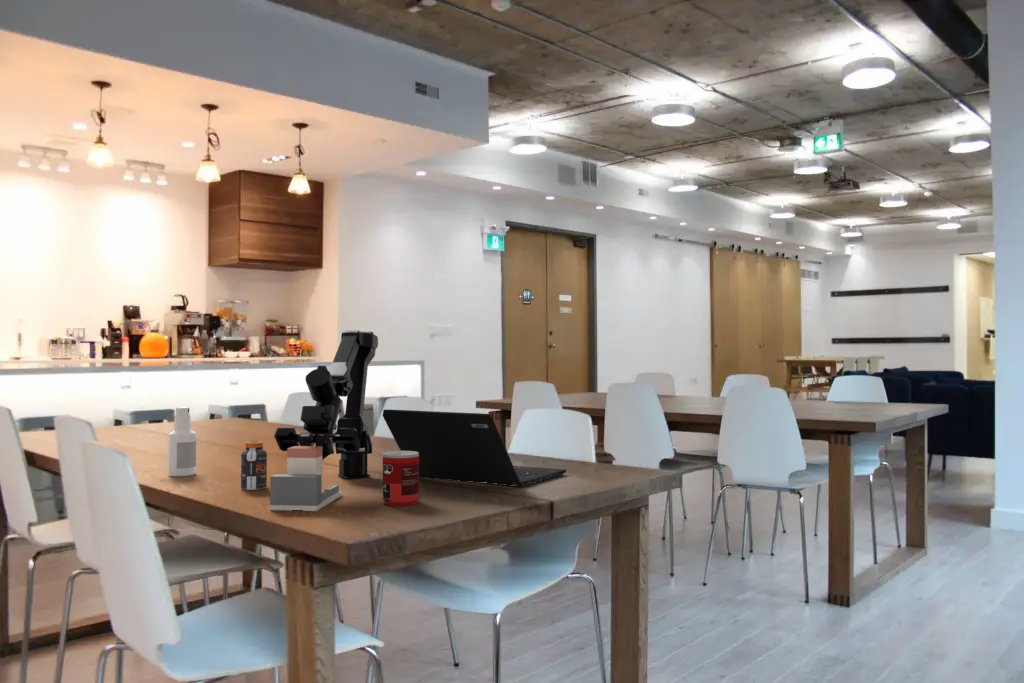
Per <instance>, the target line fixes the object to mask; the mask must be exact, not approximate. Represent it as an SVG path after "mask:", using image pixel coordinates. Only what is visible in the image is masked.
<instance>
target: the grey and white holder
mask: <svg viewBox="0 0 1024 683" xmlns="http://www.w3.org/2000/svg"><path fill="white" fill-rule="evenodd" d="M269 482H270V483H269V484H270V486H269V490H270V491H269V492H270V493H269V494H270V495H269V497H270V498H269V499H270V500H269V503H270V504H269V511H292V510H303V511H302V512H304V511H305V512H306V511H307V512H309V511H310V512H317V511H318V510H320V509H322V508H324V507H325V506H327V505H329V504H330V503H332V502H334V501H336V500H337V499H338V498H340V497H342V495H343V493H342V492H343V491H342V490H341V491H340V490H339V489H340V487H339V486H340V485H339V484H335V485H333V486H331V487H329V488H327V489H324V490H322V492H321V475H297V474H287V473H286V474H285V473H284V474H282V473H281V474H279V473H276V474H273V475H270V480H269Z"/></svg>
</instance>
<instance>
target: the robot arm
mask: <svg viewBox="0 0 1024 683" xmlns="http://www.w3.org/2000/svg"><path fill="white" fill-rule="evenodd" d="M378 346H379V339H378V336H377V335H376V334H374V332H373V331H360V330H345V331H342V333H341V337H340V343H339V346H338V347H337V351H336V353H335V355H334V358H333V360H332V363H331V364H330V365H329V366H327V365H317V367H316V368H315V369H313V370H311V371H309V372H308V373H307V374H306V376H305V379H304V380H305V383H306V386H307V389H308V392H309V395H310V397H311V399H312V401H314V402H315V405H303V406H302V408H301V414H300V421H301V422H303V430H304V431H302V430H300V433H299V434H298V433H297V431H296V429H295V427H286V426H285V427H283V426H282V427H281V426H280V427H277V428H276V430H275V431H274V435H273V437H274V439H275V442H276V443H277V447H278V449H279V450H280V451H282V452H287V448H290V447H293V446H322V461H323V460H325V459H326V458H327V457H329V456H330V455H333V454H336V455H339V454H340V459H338V462H339V463H338V464H339V465H338V468H339V469H338V474H337V476H338V477H341V478H346V479H349V480H350V479H358V478H359V479H360V478H367V477H371V474H370V473H368V455H369V454H373V450H374V448H373V441H372V439H371V438H372V437H371V436H370V432H369V426H368V424H367V422H366V420H365V418H364V409H365V408H364V407H365V400H366V399H365V398H366V389H367V388H366V387H367V381H368V380H367V378H368V370H369V368H368V366H369V364H370V363H371V362H372V360H373V359H374V357H375V356H376V350H377V349H378ZM341 397H346V404H345V413H344V414H343V416H342V417H339V414H340V413H342V398H341ZM338 417H339V418H338ZM334 431H335V432H334ZM334 449H335V450H334Z"/></svg>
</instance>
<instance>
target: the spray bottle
mask: <svg viewBox="0 0 1024 683" xmlns="http://www.w3.org/2000/svg"><path fill="white" fill-rule="evenodd" d="M174 414H175V415H174V427H173V430H172V431H171V432H169V433H168V466H167V467H168V473H167V474H168V475H169V476H170V477H177V478H179V477H190V476H194V475H196V474H197V433H196V432H195V430H192V429H191V428H192V426H191V425H192V424H191V413H190V407H189V406H180V407H175V413H174Z"/></svg>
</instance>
